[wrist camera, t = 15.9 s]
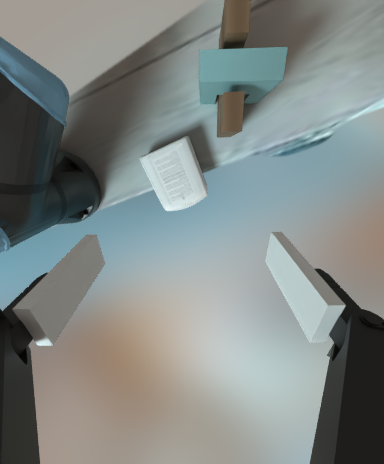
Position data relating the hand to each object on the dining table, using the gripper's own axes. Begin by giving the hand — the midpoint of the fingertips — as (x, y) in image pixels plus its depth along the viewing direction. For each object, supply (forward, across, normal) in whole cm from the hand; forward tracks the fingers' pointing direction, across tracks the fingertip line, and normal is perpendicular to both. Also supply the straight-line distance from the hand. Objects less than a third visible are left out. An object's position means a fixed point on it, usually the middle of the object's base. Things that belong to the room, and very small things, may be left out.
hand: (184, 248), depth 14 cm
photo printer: (+26, -5, +5) cm, 27 cm away
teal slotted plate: (+29, +7, +13) cm, 32 cm away
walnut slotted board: (+29, +7, +14) cm, 32 cm away
